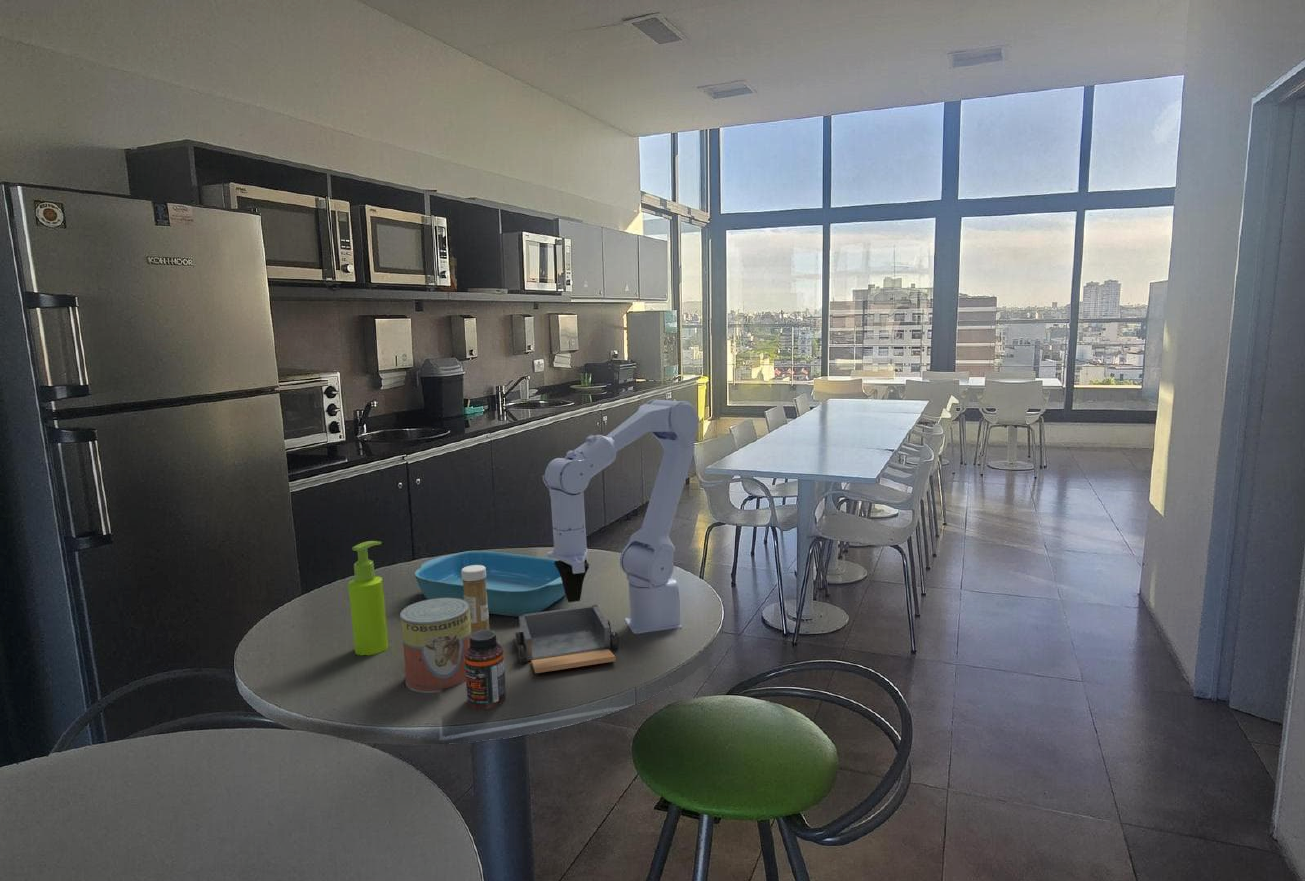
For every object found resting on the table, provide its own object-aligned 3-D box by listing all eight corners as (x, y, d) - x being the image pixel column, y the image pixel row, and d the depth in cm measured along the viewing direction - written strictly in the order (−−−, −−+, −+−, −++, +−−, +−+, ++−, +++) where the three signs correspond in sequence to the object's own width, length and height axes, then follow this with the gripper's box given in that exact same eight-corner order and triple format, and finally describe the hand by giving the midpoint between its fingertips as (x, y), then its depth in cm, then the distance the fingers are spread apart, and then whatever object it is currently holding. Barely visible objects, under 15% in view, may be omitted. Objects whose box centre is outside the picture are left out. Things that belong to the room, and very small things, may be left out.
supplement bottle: (459, 709, 117) (454, 639, 115) (482, 691, 122) (477, 624, 121) (492, 715, 115) (487, 644, 113) (513, 697, 120) (509, 629, 118)
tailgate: (608, 649, 134) (615, 656, 129) (608, 653, 134) (615, 661, 129) (531, 660, 131) (535, 668, 125) (531, 665, 131) (535, 673, 125)
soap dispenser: (399, 642, 143) (390, 540, 140) (371, 657, 137) (361, 550, 134) (375, 638, 145) (366, 537, 143) (347, 652, 139) (337, 547, 136)
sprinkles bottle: (494, 636, 144) (489, 568, 143) (471, 642, 142) (465, 573, 140) (485, 628, 148) (480, 562, 146) (462, 634, 146) (457, 567, 144)
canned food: (412, 699, 121) (406, 627, 119) (400, 672, 130) (394, 605, 129) (482, 682, 126) (477, 613, 124) (465, 657, 136) (461, 593, 134)
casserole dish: (596, 591, 168) (594, 560, 167) (541, 628, 148) (539, 593, 147) (462, 574, 183) (459, 546, 182) (396, 606, 163) (393, 574, 162)
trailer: (603, 625, 148) (602, 603, 147) (618, 652, 135) (617, 628, 134) (513, 638, 143) (512, 615, 142) (521, 667, 130) (519, 642, 130)
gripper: (540, 519, 139) (544, 590, 141) (553, 539, 125) (558, 618, 127) (578, 515, 141) (582, 585, 143) (595, 534, 127) (599, 612, 129)
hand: (573, 600), depth 135 cm, fingers closed
